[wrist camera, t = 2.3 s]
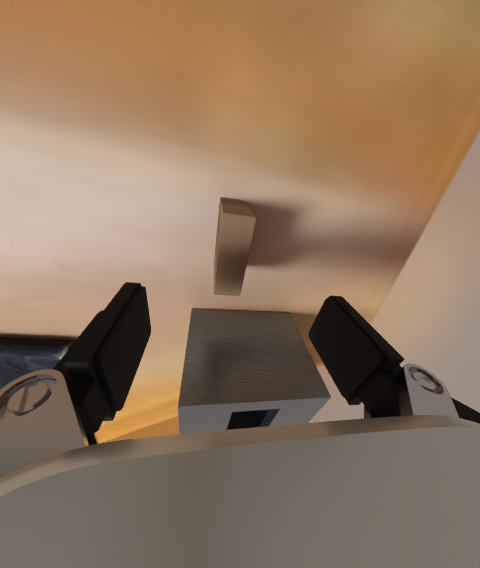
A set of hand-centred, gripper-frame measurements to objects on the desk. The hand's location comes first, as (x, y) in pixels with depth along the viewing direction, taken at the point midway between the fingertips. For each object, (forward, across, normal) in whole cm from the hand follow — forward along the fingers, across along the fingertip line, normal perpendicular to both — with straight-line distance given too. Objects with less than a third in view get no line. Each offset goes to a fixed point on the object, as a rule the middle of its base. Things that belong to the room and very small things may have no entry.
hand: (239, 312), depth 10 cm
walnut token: (+9, 0, -1) cm, 9 cm away
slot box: (+10, -3, +14) cm, 17 cm away
